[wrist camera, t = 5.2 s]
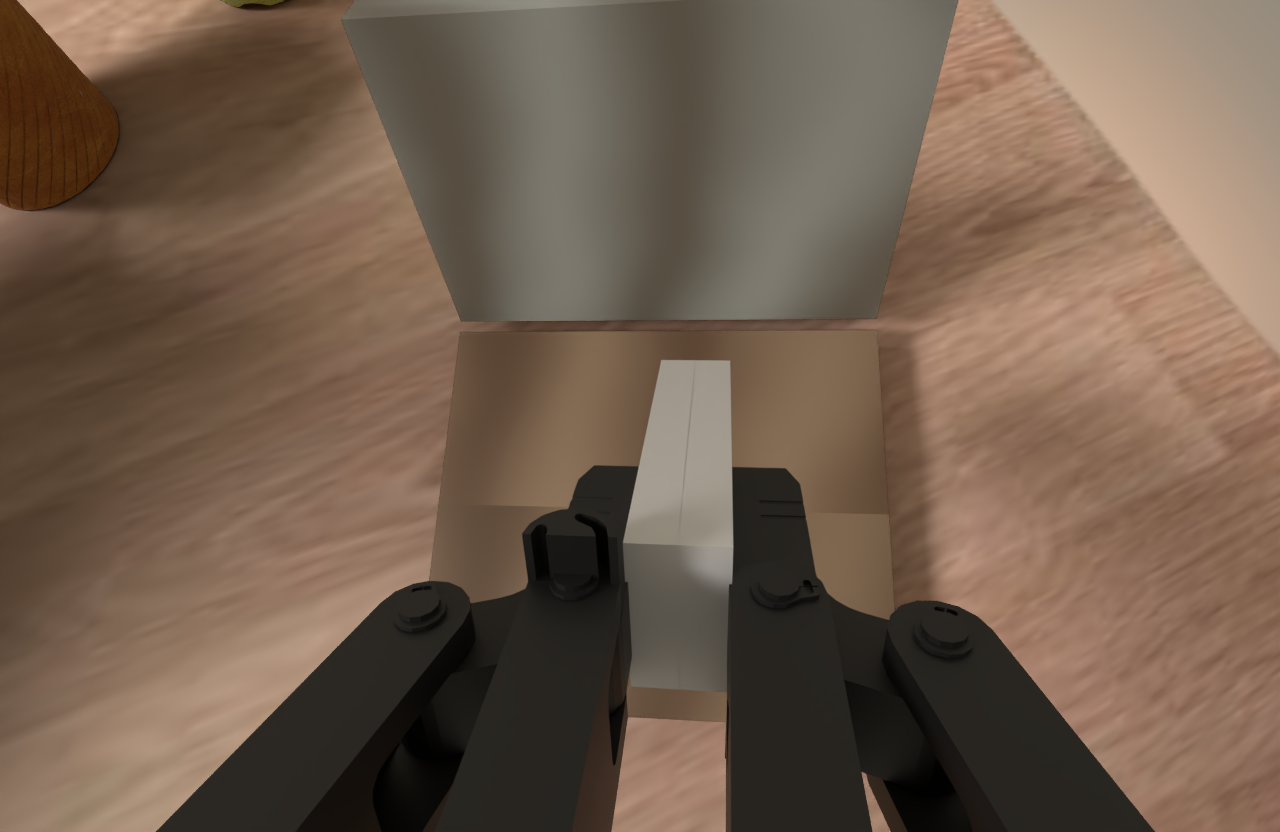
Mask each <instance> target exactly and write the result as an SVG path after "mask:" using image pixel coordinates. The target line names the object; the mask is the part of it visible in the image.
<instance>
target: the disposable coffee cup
mask: <svg viewBox="0 0 1280 832" xmlns="http://www.w3.org/2000/svg"><path fill="white" fill-rule="evenodd" d="M118 135H119V122H118V118H117V114H116V111H115V110H114V108H113V106H112V104H111V103H110V102H109V101H108V100H107V99H106V98H105V97H104V96H103V95H102V94H101V93H100V92H99V90H98V89H97V88H96V87H95V86H94V85H93V84H92V83H91V82H90V81H89V79H88V78H87V77H86V76H85V75H84V74H83V73H82V72H81V71H80V70H79V68H78V67H77V66H76V65H75V64H74V63H73V62H72V61H71V60H70V59H69V57H68V56H67V55H66V54H65V53H64V52H63V50H62V49H61V48H60V47H59V46H58V45H57V44H56V43H55V42H54V41H53V40H52V38H51V37H50V36H49V35H48V34H47V33H46V32H45V31H44V30H43V28H42V27H41V26H40V25H39V24H38V23H37V22H36V20H35V19H34V18H33V17H32V16H31V15H30V14H29V13H28V12H27V11H26V10H25V8H24V7H23V6H22V5H21V4H20V3H19V2H18V1H17V0H0V204H2V205H4V206H7V207H10V208H13V209H18V210H36V209H43V208H47V207H50V206H54V205H56V204H59V203H61V202H63V201H65V200H67V199H69V198H71V197H73V196H74V195H76V194H78V193H79V192H81V191H82V190H83V189H84V188H86V187H87V186H88V185H89V184H90V183H91V182H92V181H94V180H95V179H96V177H97V176H98V175H99V174H100V173H101V172H102V170H103V169H104V168H105V166H106V165H107V163H108V162H109V160H110V159H111V157H112V154H113V152H114V150H115V147H116V144H117V140H118Z"/></svg>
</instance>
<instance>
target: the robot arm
mask: <svg viewBox="0 0 1280 832" xmlns="http://www.w3.org/2000/svg"><path fill="white" fill-rule="evenodd" d="M522 539H523V547H524V554H525V561H526V569H527V576H528V583H527V586H526V588H525V589H523V590H521V591H519V592H517V593H515V594H512V595H508V596H505V597H501V598H496V599H491V600H486V601H480V602H475V603H470V598H469V596H468V595H467V594H466V592H465V591H464V590H463V589H462V588H461V587H459V586H457V585H454V584H452V583H450V582H442V581H427V582H422V583H416V584H412V585H410V586H407V587H405V588H403V589H400V590H398V591H396V592H394V593H393V594H392V595H390V596H389V597H388V598H386V599H385V600H384V601H382V602H381V603H380V604H379V605H378V606H377V607H376V608H375V609H374V610H373V611H372V612H371V613H370V614H369V615H368V616H367V617H366V618H365V619H364V620H363V621H362V622H361V624H360V625H359V626H358V627H357V628H356V629H355V630H354V631H353V632H352V633H351V634H350V635H349V636H348V637H347V638H346V639H345V640H344V641H343V642H342V643H341V644H340V645H339V646H338V647H337V648H336V649H335V650H334V651H333V652H332V653H331V654H330V655H329V656H328V657H327V658H326V659H325V660H324V661H323V662H322V663H321V664H320V665H319V666H318V667H317V668H316V669H315V670H314V671H313V672H312V673H311V674H310V675H309V676H308V677H307V678H306V679H305V681H304V682H303V683H302V684H301V685H300V686H299V687H298V688H297V689H296V690H295V691H294V692H293V693H292V694H291V695H290V696H289V697H288V698H287V699H286V700H285V701H284V702H283V703H282V704H281V705H280V706H279V707H278V708H277V709H276V710H275V711H274V712H273V713H272V714H271V715H270V716H269V717H268V718H267V719H266V720H265V721H264V722H263V723H262V724H261V725H260V726H259V727H258V728H257V729H256V730H255V731H254V732H253V733H252V734H251V735H250V736H249V737H248V739H247V740H246V741H245V742H244V743H243V744H242V745H241V746H240V747H239V748H238V749H237V750H236V751H235V752H234V753H233V754H232V755H231V756H230V757H229V758H228V759H227V760H226V761H225V762H224V763H223V764H222V765H221V766H220V767H219V768H218V769H217V770H216V771H215V772H214V773H213V774H212V775H211V776H210V777H209V778H208V779H207V780H206V781H205V782H204V783H203V784H202V785H201V786H200V787H199V788H198V789H197V790H196V791H195V792H194V793H193V794H192V796H191V797H190V798H189V799H188V800H187V801H186V802H185V803H184V804H183V805H182V806H181V807H180V808H179V809H178V810H177V811H176V812H175V813H174V814H173V815H172V816H171V817H170V818H169V819H168V820H167V821H166V822H165V823H164V824H163V825H162V826H161V827H160V828H159V829H158V830H157V831H156V832H611V830H612V823H613V816H614V809H615V802H616V796H617V789H618V782H619V775H620V768H621V761H622V754H623V747H624V740H625V733H626V726H627V719H628V710H627V694H626V692H627V685H628V679H629V672H630V680H631V687H646V688H663V689H679V690H696V691H712V692H727V711H726V745H725V758H726V832H872V827H871V821H870V816H869V811H868V805H867V800H866V795H865V789H864V784H863V779H862V773H861V772H864V773H866V775H867V779H868V783H869V785H870V787H871V789H872V792H873V794H874V796H875V798H876V800H877V802H878V805H879V807H880V809H881V811H882V813H883V815H884V818H885V820H886V822H887V824H888V826H889V828H890V831H891V832H1155V831H1154V830H1153V829H1152V828H1151V826H1150V825H1149V824H1148V823H1147V821H1146V820H1145V819H1144V818H1143V816H1142V815H1141V814H1140V813H1139V811H1138V810H1137V809H1136V808H1135V806H1134V805H1133V804H1132V803H1131V801H1130V800H1129V799H1128V798H1127V797H1126V795H1125V794H1124V793H1123V792H1122V790H1121V789H1120V788H1119V787H1118V785H1117V784H1116V783H1115V782H1114V780H1113V779H1112V778H1111V777H1110V775H1109V774H1108V773H1107V772H1106V770H1105V769H1104V768H1103V767H1102V765H1101V764H1100V763H1099V762H1098V760H1097V759H1096V758H1095V757H1094V755H1093V754H1092V753H1091V752H1090V751H1089V749H1088V748H1087V747H1086V746H1085V744H1084V743H1083V742H1082V741H1081V739H1080V738H1079V737H1078V736H1077V734H1076V733H1075V732H1074V731H1073V729H1072V728H1071V727H1070V726H1069V724H1068V723H1067V722H1066V721H1065V719H1064V718H1063V717H1062V716H1061V714H1060V713H1059V712H1058V711H1057V710H1056V708H1055V707H1054V706H1053V705H1052V703H1051V702H1050V701H1049V700H1048V698H1047V697H1046V696H1045V695H1044V693H1043V692H1042V691H1041V690H1040V688H1039V687H1038V686H1037V685H1036V683H1035V682H1034V681H1033V680H1032V678H1031V677H1030V676H1029V675H1028V673H1027V672H1026V671H1025V670H1024V668H1023V667H1022V666H1021V665H1020V664H1019V662H1018V661H1017V660H1016V659H1015V657H1014V656H1013V655H1012V654H1011V652H1010V651H1009V650H1008V649H1007V647H1006V646H1005V645H1004V644H1003V642H1002V641H1001V640H1000V639H999V637H998V636H997V635H996V634H995V632H994V631H993V630H992V629H991V628H990V627H989V626H988V625H986V624H985V623H984V622H983V621H982V620H981V619H980V618H979V617H977V616H976V615H974V614H972V613H970V612H968V611H966V610H964V609H962V608H960V607H958V606H954V605H951V604H947V603H943V602H939V601H915V602H911V603H908V604H905V605H901V606H900V607H899V608H898V609H897V610H895V611H894V612H893V613H892V614H891V615H890V619H889V620H887V619H884V618H880V617H876V616H873V615H869V614H866V613H863V612H860V611H857V610H854V609H852V608H849V607H847V606H845V605H844V604H842V603H840V602H838V601H836V600H835V599H834V598H833V597H832V596H830V595H829V594H828V593H827V591H826V589H825V587H824V585H823V583H822V581H821V580H820V579H818V578H817V575H816V571H815V566H814V560H813V554H812V549H811V543H810V537H809V531H808V526H807V520H806V514H805V509H804V505H803V497H802V492H801V486H800V483H799V482H798V481H797V480H796V479H795V478H794V477H793V476H792V474H791V473H790V472H789V471H788V470H787V469H786V468H759V467H732V438H731V377H730V361H724V360H661V364H660V369H659V374H658V378H657V383H656V388H655V393H654V397H653V402H652V407H651V412H650V416H649V421H648V426H647V431H646V435H645V440H644V445H643V450H642V454H641V459H640V464H639V466H605V465H594V466H593V467H592V468H591V469H589V470H588V471H587V472H586V473H585V474H584V475H583V476H582V477H581V478H579V479H578V482H577V485H576V487H575V490H574V493H573V496H572V500H571V502H570V505H569V508H568V509H561V510H557V511H554V512H551V513H547V514H544V515H542V516H541V517H539V518H537V519H536V520H534V521H533V522H531V523H530V524H529V525H528V526H527V528H526V529H525V530H524V532H523V533H522Z"/></svg>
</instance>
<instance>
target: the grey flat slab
mask: <svg viewBox="0 0 1280 832" xmlns="http://www.w3.org/2000/svg"><path fill="white" fill-rule="evenodd" d="M957 4H958V0H354V2H353V3H352V5H351V6H350V7H349V9H348V10H347V12H346V13H345V14H344V16H343V17H342V19H341V21H342V24H343V26H344V29H345V31H346V34H347V36H348V39H349V41H350V44H351V46H352V49H353V51H354V54H355V56H356V59H357V61H358V64H359V66H360V69H361V71H362V74H363V76H364V79H365V81H366V84H367V86H368V89H369V91H370V94H371V96H372V99H373V101H374V104H375V106H376V109H377V111H378V114H379V116H380V119H381V121H382V124H383V126H384V129H385V131H386V134H387V136H388V139H389V141H390V144H391V146H392V149H393V151H394V154H395V156H396V159H397V161H398V164H399V167H400V169H401V172H402V174H403V177H404V179H405V182H406V184H407V187H408V189H409V192H410V194H411V197H412V199H413V202H414V204H415V207H416V209H417V212H418V214H419V217H420V219H421V222H422V224H423V227H424V229H425V232H426V234H427V237H428V239H429V242H430V244H431V247H432V249H433V252H434V254H435V257H436V259H437V262H438V264H439V267H440V269H441V272H442V274H443V277H444V279H445V282H446V284H447V287H448V289H449V292H450V294H451V297H452V299H453V302H454V304H455V307H456V309H457V312H458V314H459V317H460V319H461V321H612V320H764V319H876V318H877V314H878V310H879V307H880V303H881V299H882V295H883V291H884V287H885V283H886V279H887V276H888V272H889V268H890V264H891V260H892V256H893V252H894V248H895V244H896V241H897V237H898V233H899V229H900V225H901V221H902V217H903V213H904V210H905V206H906V202H907V198H908V194H909V190H910V186H911V182H912V179H913V175H914V171H915V167H916V163H917V159H918V155H919V151H920V148H921V144H922V140H923V136H924V132H925V128H926V124H927V120H928V117H929V113H930V109H931V105H932V101H933V97H934V93H935V89H936V86H937V82H938V78H939V74H940V70H941V66H942V62H943V58H944V55H945V51H946V47H947V43H948V39H949V35H950V31H951V27H952V24H953V20H954V16H955V12H956V8H957Z"/></svg>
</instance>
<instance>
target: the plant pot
mask: <svg viewBox="0 0 1280 832" xmlns="http://www.w3.org/2000/svg"><path fill="white" fill-rule="evenodd" d="M221 1H223V2H225V3H227V4H230V5H232V6H236V7H240V6H242V5H243V4H248V3H257V4H264V5H274V4H277V3H280V2H282V1H284V0H221Z"/></svg>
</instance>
